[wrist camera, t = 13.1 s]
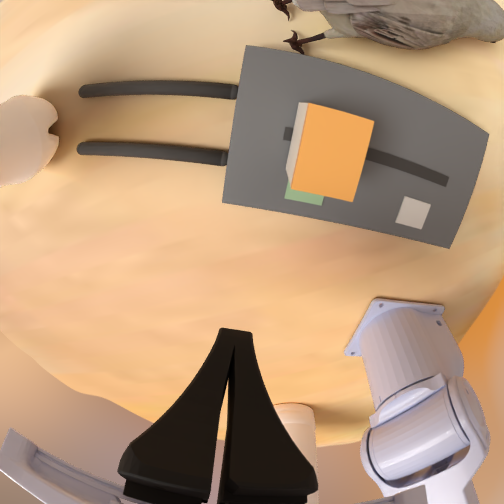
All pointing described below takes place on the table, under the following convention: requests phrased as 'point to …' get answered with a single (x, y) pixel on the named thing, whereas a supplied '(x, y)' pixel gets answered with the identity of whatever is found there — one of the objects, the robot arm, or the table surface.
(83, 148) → the twin grey rods
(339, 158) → the handle
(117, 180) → the table surface
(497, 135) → the table surface
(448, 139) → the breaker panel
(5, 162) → the water bottle
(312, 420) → the bottle
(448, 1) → the decorative bird
